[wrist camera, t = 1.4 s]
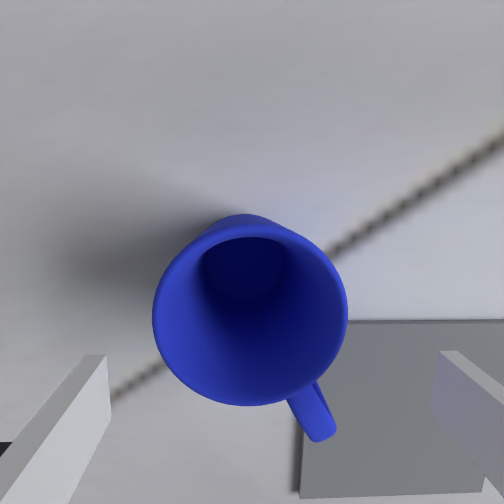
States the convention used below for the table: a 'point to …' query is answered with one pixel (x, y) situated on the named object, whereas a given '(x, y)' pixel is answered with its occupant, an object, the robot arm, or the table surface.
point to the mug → (253, 318)
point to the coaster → (395, 411)
